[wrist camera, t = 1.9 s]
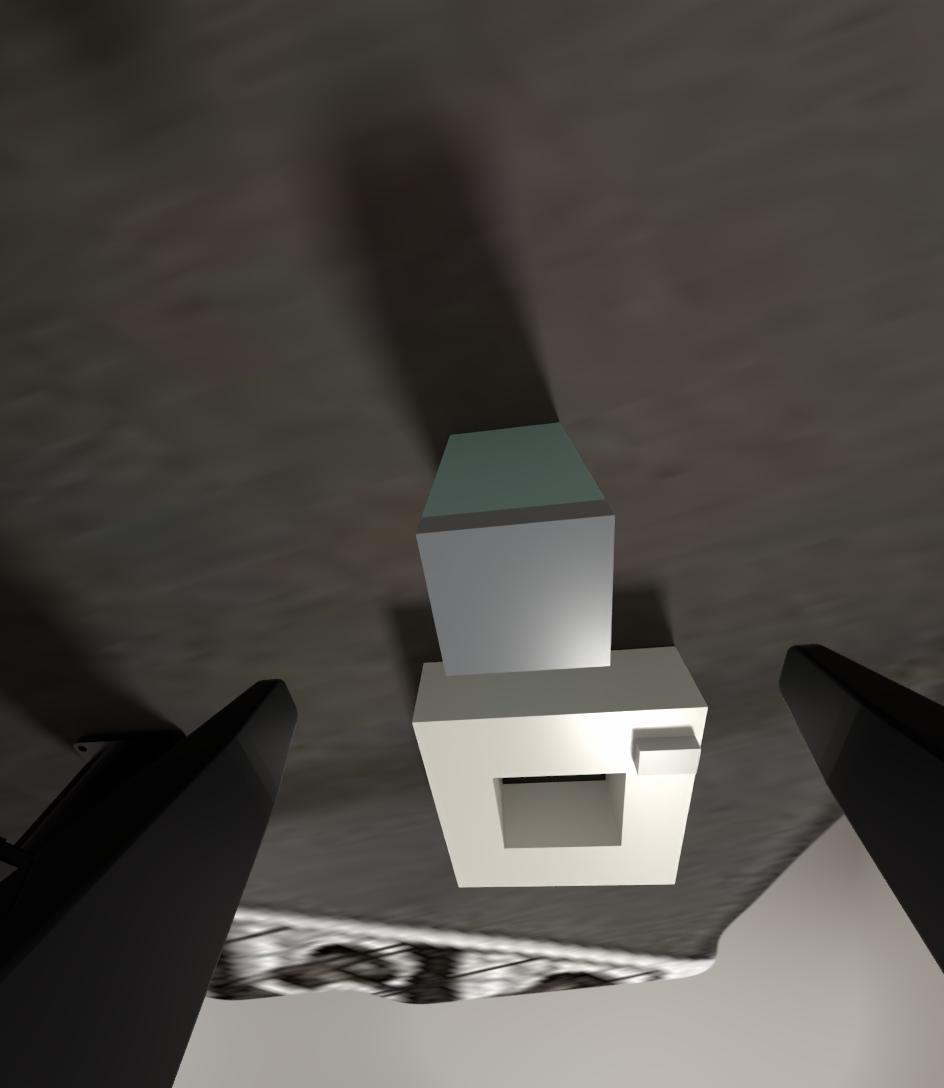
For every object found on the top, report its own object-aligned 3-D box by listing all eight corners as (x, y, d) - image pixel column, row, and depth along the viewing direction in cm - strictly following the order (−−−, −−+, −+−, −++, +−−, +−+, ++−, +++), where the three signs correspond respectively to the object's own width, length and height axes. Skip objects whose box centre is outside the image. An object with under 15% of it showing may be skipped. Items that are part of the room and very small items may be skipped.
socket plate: (462, 823, 28) (458, 899, 24) (423, 663, 21) (409, 734, 18) (653, 818, 27) (678, 897, 23) (675, 646, 20) (714, 719, 17)
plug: (464, 531, 18) (445, 676, 11) (450, 435, 16) (415, 533, 9) (562, 522, 17) (610, 665, 10) (559, 422, 15) (614, 514, 8)
